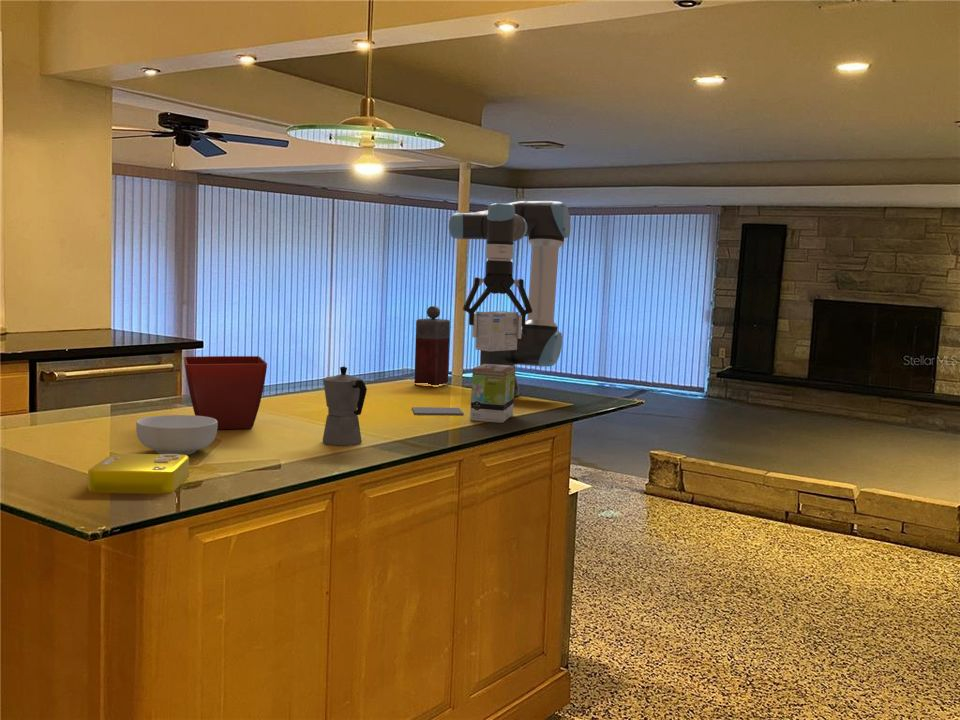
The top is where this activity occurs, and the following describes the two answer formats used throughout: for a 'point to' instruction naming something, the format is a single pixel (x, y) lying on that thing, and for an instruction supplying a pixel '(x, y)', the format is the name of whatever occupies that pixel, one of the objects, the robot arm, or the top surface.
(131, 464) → the element tile
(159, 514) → the top surface
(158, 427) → the cereal bowl
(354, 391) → the coffeepot
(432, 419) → the top surface
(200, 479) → the top surface
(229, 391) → the plant pot
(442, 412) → the rubber mat
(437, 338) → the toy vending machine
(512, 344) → the light bulb box
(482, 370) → the tea box
